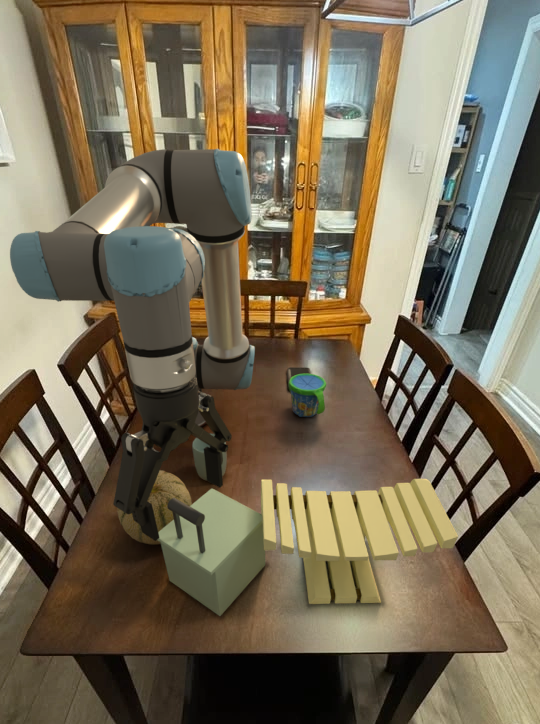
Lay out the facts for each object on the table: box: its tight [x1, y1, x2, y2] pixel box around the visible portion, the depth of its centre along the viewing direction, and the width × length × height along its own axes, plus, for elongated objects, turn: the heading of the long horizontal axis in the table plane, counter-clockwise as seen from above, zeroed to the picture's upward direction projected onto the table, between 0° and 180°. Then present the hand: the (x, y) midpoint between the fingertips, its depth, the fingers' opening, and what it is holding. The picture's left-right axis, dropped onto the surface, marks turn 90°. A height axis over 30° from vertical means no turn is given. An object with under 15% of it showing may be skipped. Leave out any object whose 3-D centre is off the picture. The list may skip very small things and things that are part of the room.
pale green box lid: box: [157, 487, 263, 575], centre depth 68 cm, size 14×13×9 cm
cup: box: [191, 433, 228, 482], centre depth 99 cm, size 8×8×10 cm
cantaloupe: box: [116, 469, 193, 545], centre depth 83 cm, size 15×15×15 cm
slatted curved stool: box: [260, 478, 459, 605], centre depth 75 cm, size 30×16×18 cm, turn 92°
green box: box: [160, 523, 266, 617], centre depth 76 cm, size 14×13×13 cm
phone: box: [287, 366, 311, 390], centre depth 140 cm, size 8×1×15 cm
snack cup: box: [288, 373, 327, 418], centre depth 122 cm, size 16×10×10 cm
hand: (185, 507), depth 62 cm, fingers open, 13 cm apart
